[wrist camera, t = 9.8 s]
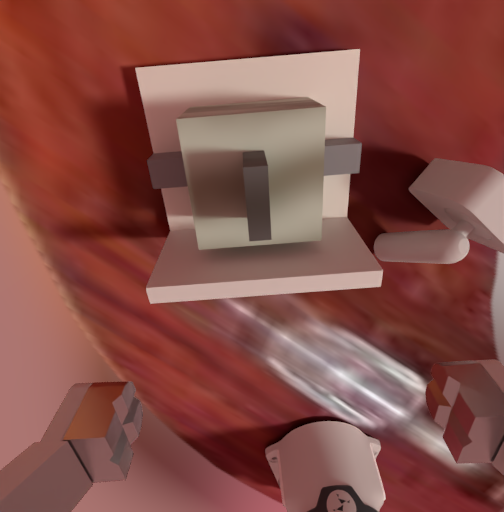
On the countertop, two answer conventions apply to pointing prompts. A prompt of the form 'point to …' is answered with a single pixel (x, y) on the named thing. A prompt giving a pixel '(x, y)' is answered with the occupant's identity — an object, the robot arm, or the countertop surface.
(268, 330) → the countertop surface
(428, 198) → the white block with rod
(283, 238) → the cabinet block
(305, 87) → the board
